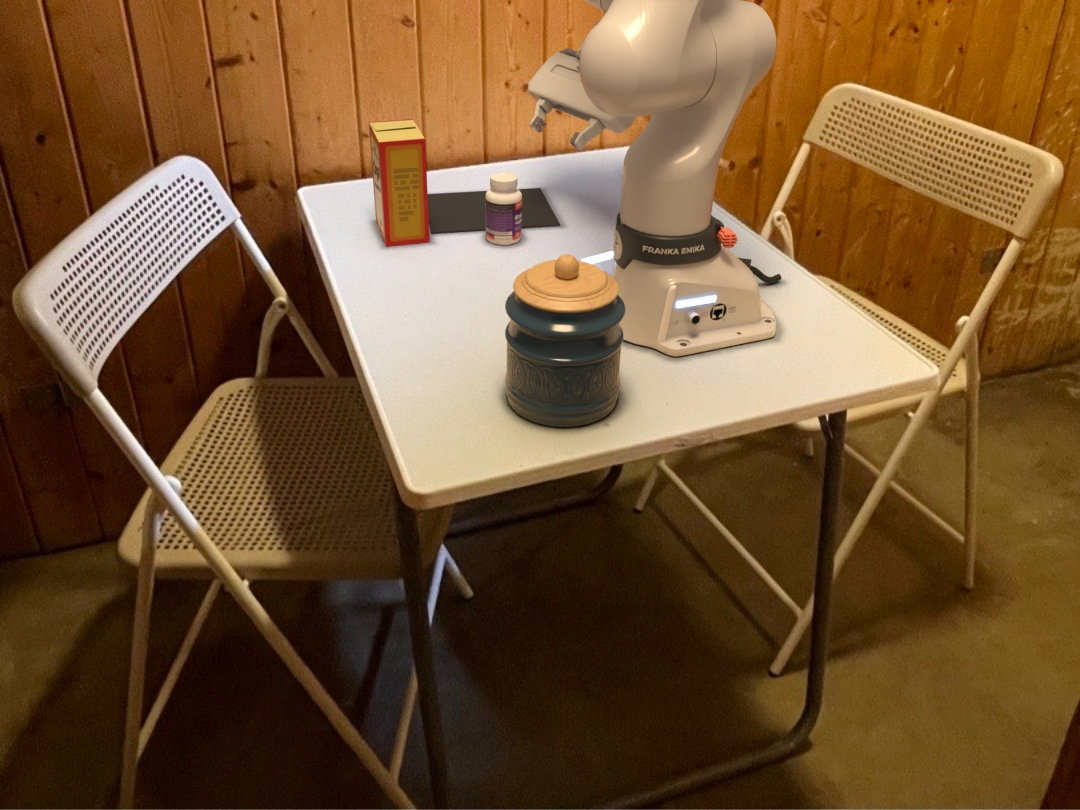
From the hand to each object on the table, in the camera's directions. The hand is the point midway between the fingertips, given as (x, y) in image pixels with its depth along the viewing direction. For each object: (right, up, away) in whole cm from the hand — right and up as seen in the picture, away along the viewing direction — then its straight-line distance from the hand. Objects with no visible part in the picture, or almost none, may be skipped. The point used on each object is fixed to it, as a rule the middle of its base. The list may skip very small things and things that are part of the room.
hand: (554, 137), depth 150 cm
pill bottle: (-8, -15, +2) cm, 17 cm away
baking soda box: (-23, -14, +4) cm, 27 cm away
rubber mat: (-10, -9, +11) cm, 18 cm away
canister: (0, -39, -35) cm, 52 cm away
